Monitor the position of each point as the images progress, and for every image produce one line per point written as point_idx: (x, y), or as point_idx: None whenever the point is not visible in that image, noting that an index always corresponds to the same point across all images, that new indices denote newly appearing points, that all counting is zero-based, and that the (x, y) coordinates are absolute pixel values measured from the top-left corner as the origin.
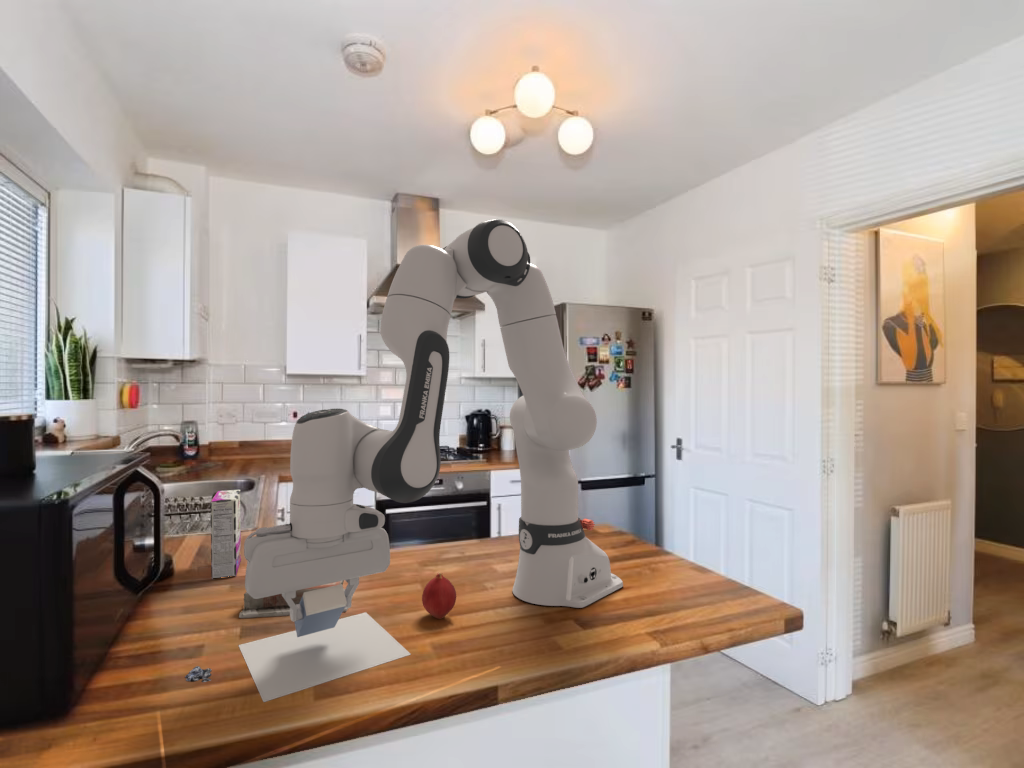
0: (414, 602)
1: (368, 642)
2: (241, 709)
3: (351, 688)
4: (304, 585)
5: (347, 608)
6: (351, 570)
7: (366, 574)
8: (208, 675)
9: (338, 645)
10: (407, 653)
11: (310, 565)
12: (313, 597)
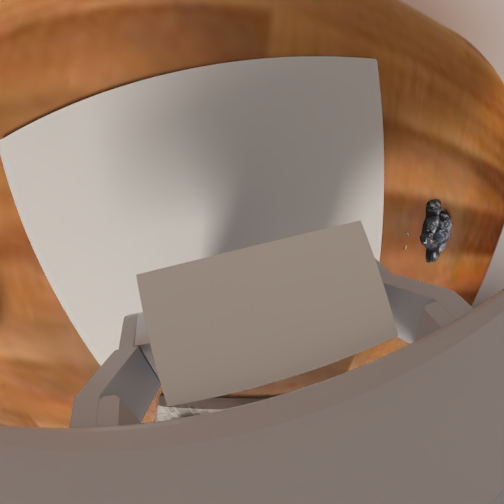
0: (30, 389)
1: (94, 247)
2: (404, 74)
3: (170, 21)
4: (444, 343)
5: (157, 405)
6: (99, 480)
7: (20, 429)
8: (434, 219)
9: (176, 258)
10: (3, 149)
11: (489, 463)
12: (345, 310)
